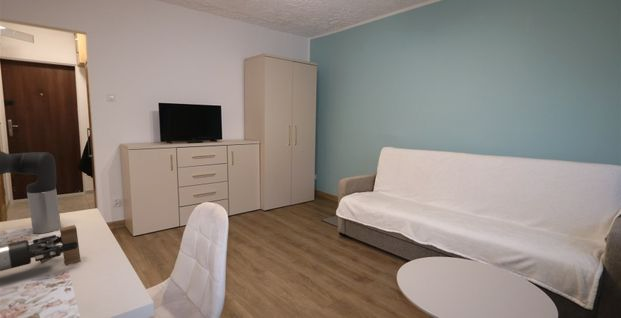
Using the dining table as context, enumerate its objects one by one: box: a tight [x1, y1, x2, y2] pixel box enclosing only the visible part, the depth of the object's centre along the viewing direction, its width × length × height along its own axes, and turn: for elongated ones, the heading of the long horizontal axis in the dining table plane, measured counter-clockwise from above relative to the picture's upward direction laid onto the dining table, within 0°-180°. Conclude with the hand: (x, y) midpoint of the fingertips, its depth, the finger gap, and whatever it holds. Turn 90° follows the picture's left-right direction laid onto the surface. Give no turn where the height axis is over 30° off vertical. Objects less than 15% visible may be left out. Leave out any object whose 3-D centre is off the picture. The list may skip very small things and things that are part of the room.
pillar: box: [59, 224, 82, 266], centre depth 104 cm, size 4×4×12 cm
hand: (75, 240), depth 104 cm, fingers open, 8 cm apart
